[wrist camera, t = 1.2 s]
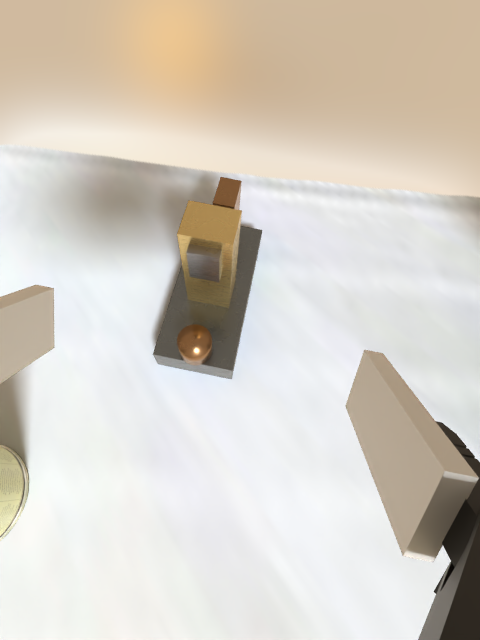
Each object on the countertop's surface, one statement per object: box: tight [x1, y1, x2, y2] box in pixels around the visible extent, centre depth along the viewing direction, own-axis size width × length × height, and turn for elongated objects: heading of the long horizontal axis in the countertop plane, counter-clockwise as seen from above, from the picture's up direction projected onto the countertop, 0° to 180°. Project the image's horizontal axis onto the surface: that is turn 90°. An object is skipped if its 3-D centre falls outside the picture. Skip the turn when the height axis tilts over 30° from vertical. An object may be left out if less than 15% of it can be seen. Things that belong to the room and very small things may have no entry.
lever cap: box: [177, 201, 242, 308], centre depth 35 cm, size 5×5×12 cm
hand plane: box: [153, 177, 262, 379], centre depth 39 cm, size 9×20×12 cm, turn 169°
